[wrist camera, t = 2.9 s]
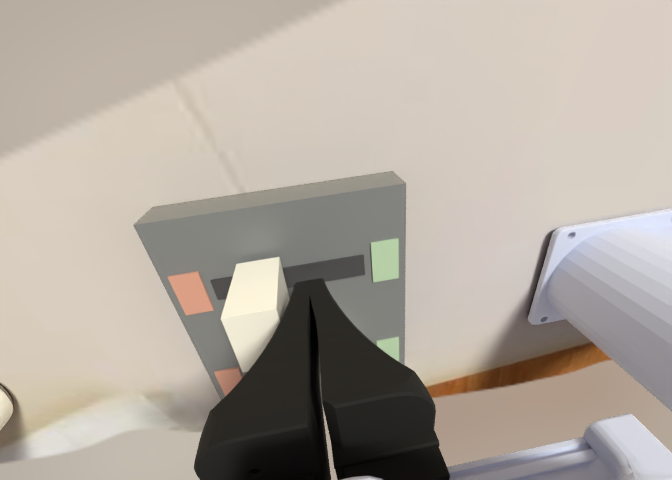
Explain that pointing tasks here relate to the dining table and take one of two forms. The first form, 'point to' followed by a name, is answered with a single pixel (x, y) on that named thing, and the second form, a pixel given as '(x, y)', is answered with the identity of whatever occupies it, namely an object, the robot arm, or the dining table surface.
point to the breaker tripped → (254, 308)
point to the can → (5, 406)
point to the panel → (285, 257)
